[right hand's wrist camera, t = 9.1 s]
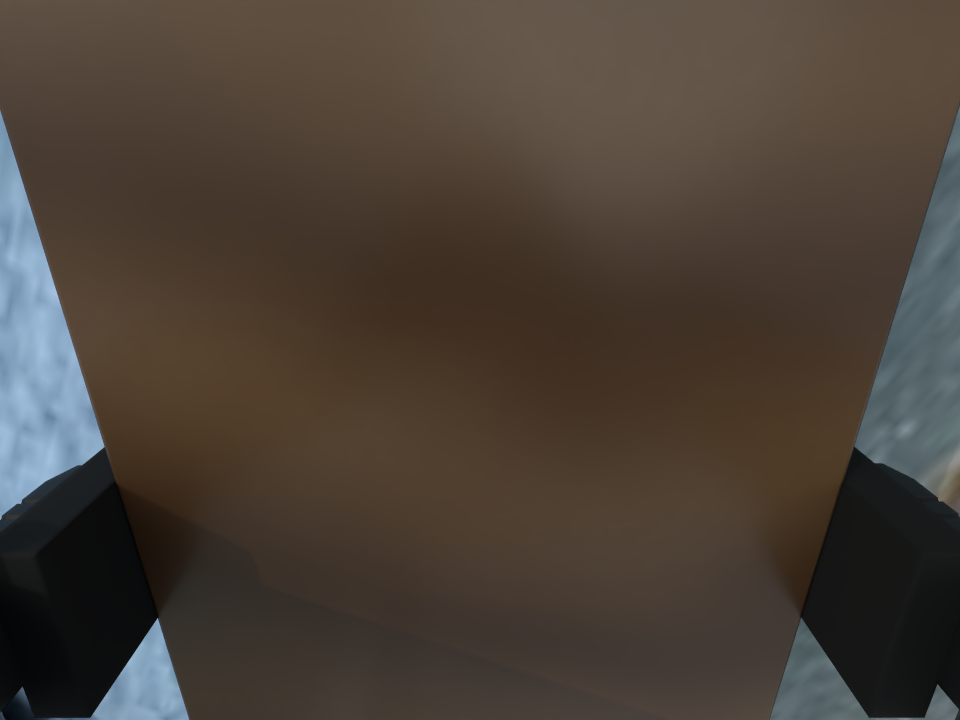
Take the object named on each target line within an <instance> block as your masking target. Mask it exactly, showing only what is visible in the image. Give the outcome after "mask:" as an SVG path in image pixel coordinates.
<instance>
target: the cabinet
mask: <svg viewBox="0 0 960 720" xmlns="http://www.w3.org/2000/svg"><path fill="white" fill-rule="evenodd" d="M959 106H960V0H0V110H1V113H2V117H3V120H4V123H5V126H6V129H7V133H8V136H9V139H10V142H11V146H12V149H13V152H14V155H15V158H16V162H17V165H18V168H19V171H20V175H21V178H22V181H23V184H24V188H25V191H26V194H27V197H28V200H29V204H30V207H31V210H32V213H33V217H34V220H35V223H36V226H37V229H38V233H39V236H40V239H41V242H42V246H43V249H44V252H45V255H46V259H47V262H48V265H49V268H50V271H51V275H52V278H53V281H54V284H55V288H56V291H57V294H58V297H59V300H60V304H61V307H62V310H63V313H64V317H65V320H66V323H67V326H68V330H69V333H70V336H71V339H72V342H73V346H74V349H75V352H76V355H77V359H78V362H79V365H80V368H81V371H82V375H83V378H84V381H85V384H86V388H87V391H88V394H89V397H90V400H91V404H92V407H93V410H94V413H95V417H96V420H97V423H98V426H99V430H100V433H101V436H102V439H103V442H104V446H105V449H106V452H107V455H108V459H109V462H110V465H111V468H112V471H113V475H114V478H115V481H116V484H117V488H118V491H119V494H120V497H121V501H122V504H123V507H124V510H125V513H126V517H127V520H128V523H129V526H130V530H131V533H132V536H133V539H134V542H135V546H136V549H137V552H138V555H139V559H140V562H141V565H142V568H143V572H144V575H145V578H146V581H147V584H148V588H149V591H150V594H151V597H152V601H153V604H154V607H155V610H156V613H157V617H158V620H159V623H160V626H161V630H162V633H163V636H164V639H165V642H166V646H167V649H168V652H169V655H170V659H171V662H172V665H173V668H174V672H175V675H176V678H177V681H178V684H179V688H180V691H181V694H182V697H183V701H184V704H185V707H186V710H187V713H188V717H189V720H769V719H770V716H771V713H772V710H773V707H774V703H775V700H776V697H777V694H778V690H779V687H780V684H781V681H782V677H783V674H784V671H785V668H786V665H787V661H788V658H789V655H790V652H791V648H792V645H793V642H794V639H795V635H796V632H797V629H798V626H799V623H800V619H801V616H802V613H803V610H804V606H805V603H806V600H807V597H808V593H809V590H810V587H811V584H812V581H813V577H814V574H815V571H816V568H817V564H818V561H819V558H820V555H821V552H822V548H823V545H824V542H825V539H826V535H827V532H828V529H829V526H830V522H831V519H832V516H833V513H834V510H835V506H836V503H837V500H838V497H839V493H840V490H841V487H842V484H843V480H844V477H845V474H846V471H847V468H848V464H849V461H850V458H851V455H852V451H853V448H854V445H855V442H856V438H857V435H858V432H859V429H860V426H861V422H862V419H863V416H864V413H865V409H866V406H867V403H868V400H869V397H870V393H871V390H872V387H873V384H874V380H875V377H876V374H877V371H878V367H879V364H880V361H881V358H882V355H883V351H884V348H885V345H886V342H887V338H888V335H889V332H890V329H891V325H892V322H893V319H894V316H895V313H896V309H897V306H898V303H899V300H900V296H901V293H902V290H903V287H904V283H905V280H906V277H907V274H908V271H909V267H910V264H911V261H912V258H913V254H914V251H915V248H916V245H917V241H918V238H919V235H920V232H921V229H922V225H923V222H924V219H925V216H926V212H927V209H928V206H929V203H930V200H931V196H932V193H933V190H934V187H935V183H936V180H937V177H938V174H939V170H940V167H941V164H942V161H943V158H944V154H945V151H946V148H947V145H948V141H949V138H950V135H951V132H952V128H953V125H954V122H955V119H956V116H957V112H958V109H959Z"/></svg>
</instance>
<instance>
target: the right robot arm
mask: <svg viewBox="0 0 960 720" xmlns="http://www.w3.org/2000/svg"><path fill="white" fill-rule="evenodd" d="M157 618H158V617H157V613H156V610H155V607H154V604H153V601H152V597H151V594H150V591H149V588H148V584H147V581H146V578H145V575H144V572H143V568H142V565H141V562H140V559H139V555H138V552H137V549H136V546H135V542H134V539H133V536H132V533H131V530H130V526H129V523H128V520H127V517H126V513H125V510H124V507H123V504H122V501H121V497H120V494H119V491H118V488H117V484H116V481H115V478H114V475H113V471H112V468H111V465H110V462H109V459H108V455H107V452H106V449H105V447H104V448H103V449H102V450H101V451H99V452H98V453H97V454H96V455H94V456H93V457H92V458H91V459H90V460H88V461H87V462H86V463H85V464H83V465H80V466H76V467H74V468H72V469H70V470H68V471H66V472H64V473H62V474H60V475H58V476H56V477H54V478H52V479H50V480H48V481H46V482H44V483H43V484H42V485H41V486H39V487H38V488H37V489H36V490H34V491H33V492H32V493H30V494H29V495H28V496H27V497H25V498H24V499H23V500H22V503H21V504H16V505H15V506H14V507H13V508H11V509H10V510H9V511H7V512H6V513H5V514H4V515H2V519H1V520H0V720H5V718H4V716H3V714H2V710H3V709H4V708H5V707H6V705H7V704H8V703H9V702H10V701H11V699H12V698H13V697H14V696H15V695H16V693H17V692H18V691H19V690H20V689H21V687H22V686H23V688H24V691H25V694H26V696H27V699H28V701H29V704H30V707H31V709H32V712H33V714H34V717H35V718H90V717H91V716H92V714H93V713H94V711H95V710H96V708H97V707H98V705H99V704H100V703H101V701H102V700H103V698H104V697H105V695H106V694H107V692H108V691H109V689H110V688H111V686H112V685H113V683H114V682H115V680H116V679H117V677H118V676H119V674H120V673H121V671H122V670H123V668H124V667H125V666H126V664H127V663H128V661H129V660H130V658H131V657H132V655H133V654H134V652H135V651H136V649H137V648H138V646H139V645H140V643H141V642H142V640H143V639H144V637H145V636H146V634H147V633H148V631H149V630H150V629H151V627H152V626H153V624H154V623H155V621H156V620H157ZM801 618H802V619H803V621H804V622H805V624H806V625H807V626H808V628H809V629H810V631H811V632H812V634H813V635H814V637H815V638H816V640H817V641H818V643H819V644H820V646H821V647H822V649H823V650H824V652H825V653H826V655H827V656H828V658H829V659H830V661H831V662H832V663H833V665H834V666H835V668H836V669H837V671H838V672H839V674H840V675H841V677H842V678H843V680H844V681H845V683H846V684H847V686H848V687H849V689H850V690H851V692H852V693H853V695H854V696H855V698H856V699H857V701H858V702H859V703H860V705H861V706H862V708H863V709H864V711H865V712H866V714H867V715H868V717H869V718H924V717H925V715H926V712H927V710H928V707H929V704H930V702H931V699H932V697H933V694H934V691H935V689H936V686H937V684H938V685H939V686H940V687H941V689H942V690H943V691H944V692H945V693H946V694H947V696H948V697H949V698H950V699H951V700H952V702H953V703H954V704H955V705H956V706H957V708H958V709H959V711H958V714H957V716H956V718H955V720H960V518H959V517H958V513H957V512H955V511H954V510H953V509H952V508H950V507H949V506H948V505H946V504H945V503H944V502H939V501H938V498H937V497H936V496H935V495H934V494H932V493H931V492H930V491H928V490H927V489H926V488H925V487H923V486H922V485H921V484H919V483H918V482H917V481H916V480H914V479H913V478H911V477H908V476H906V475H904V474H902V473H900V472H898V471H896V470H894V469H892V468H890V467H888V466H886V465H884V464H882V463H873V462H872V461H871V460H870V459H869V458H867V457H866V456H865V455H864V454H862V453H861V452H860V451H859V450H858V449H856V448H855V447H854V448H853V451H852V455H851V458H850V461H849V464H848V468H847V471H846V474H845V477H844V480H843V484H842V487H841V490H840V493H839V497H838V500H837V503H836V506H835V510H834V513H833V516H832V519H831V522H830V526H829V529H828V532H827V535H826V539H825V542H824V545H823V548H822V552H821V555H820V558H819V561H818V564H817V568H816V571H815V574H814V577H813V581H812V584H811V587H810V590H809V593H808V597H807V600H806V603H805V606H804V610H803V613H802V616H801Z"/></svg>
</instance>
